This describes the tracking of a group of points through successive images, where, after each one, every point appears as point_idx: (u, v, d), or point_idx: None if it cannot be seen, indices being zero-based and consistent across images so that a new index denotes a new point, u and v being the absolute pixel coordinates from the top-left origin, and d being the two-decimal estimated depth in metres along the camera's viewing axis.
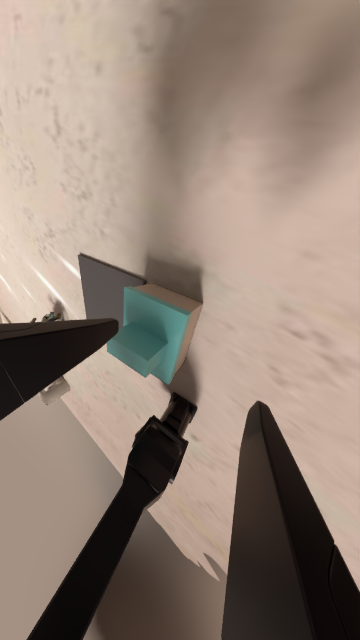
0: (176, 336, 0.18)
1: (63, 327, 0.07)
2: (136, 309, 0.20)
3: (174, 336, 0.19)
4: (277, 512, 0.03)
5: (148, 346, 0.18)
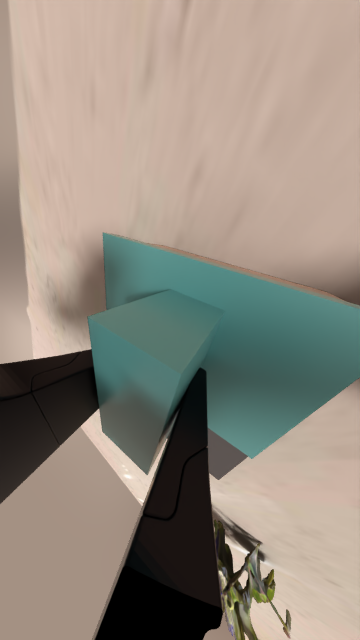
0: (148, 261, 0.07)
1: None
2: None
3: (149, 266, 0.08)
4: (172, 429, 0.04)
5: None
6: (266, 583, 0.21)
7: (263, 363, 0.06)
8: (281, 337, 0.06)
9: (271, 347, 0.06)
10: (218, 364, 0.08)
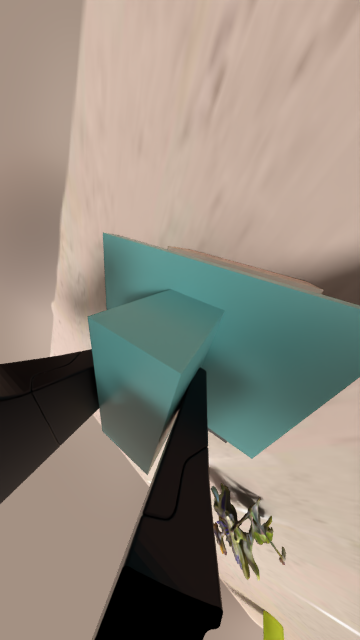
0: (148, 261, 0.07)
1: None
2: None
3: (149, 266, 0.08)
4: (172, 429, 0.04)
5: None
6: (265, 526, 0.26)
7: (263, 362, 0.06)
8: (281, 337, 0.06)
9: (271, 347, 0.06)
10: (219, 363, 0.08)
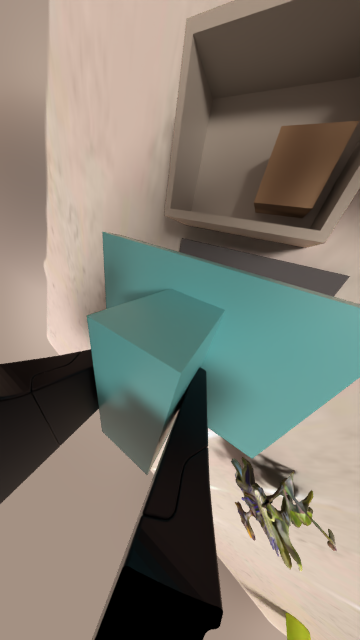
0: (148, 260, 0.07)
1: None
2: None
3: (148, 265, 0.07)
4: (172, 429, 0.04)
5: None
6: (305, 503, 0.20)
7: (263, 362, 0.06)
8: (281, 336, 0.06)
9: (271, 346, 0.06)
10: (219, 363, 0.08)
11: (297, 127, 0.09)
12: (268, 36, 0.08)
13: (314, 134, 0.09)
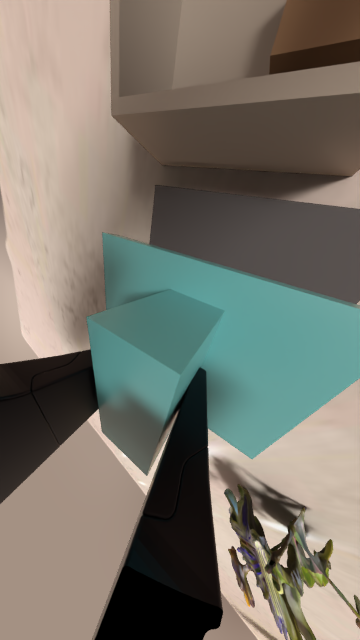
0: (147, 261, 0.07)
1: None
2: None
3: (148, 266, 0.07)
4: (172, 429, 0.04)
5: None
6: (323, 558, 0.15)
7: (263, 363, 0.06)
8: (281, 337, 0.06)
9: (271, 347, 0.06)
10: (218, 364, 0.08)
11: None
12: None
13: None
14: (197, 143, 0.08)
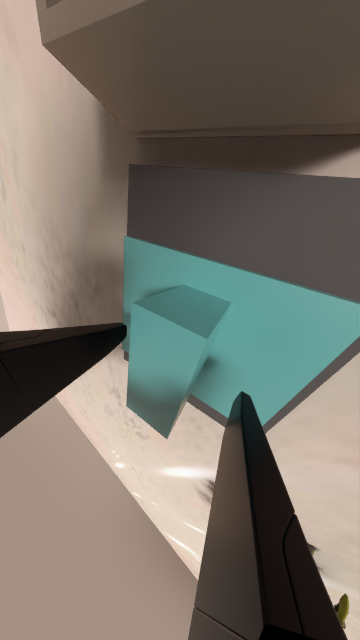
0: (165, 261, 0.09)
1: (73, 334, 0.06)
2: None
3: (165, 265, 0.09)
4: (244, 486, 0.03)
5: None
6: None
7: (263, 346, 0.08)
8: (278, 323, 0.07)
9: (270, 332, 0.07)
10: (225, 349, 0.09)
11: None
12: None
13: None
14: (171, 90, 0.06)
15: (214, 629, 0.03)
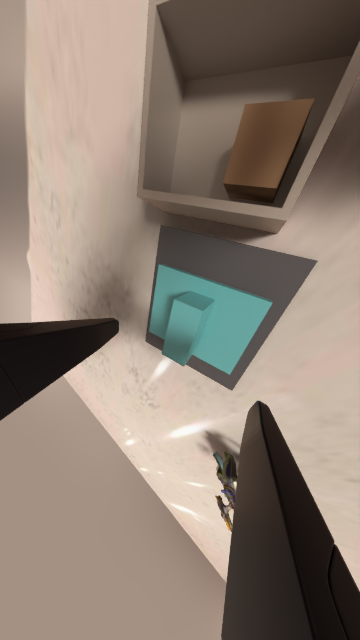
0: (181, 278, 0.17)
1: (63, 327, 0.07)
2: (164, 324, 0.20)
3: (181, 280, 0.17)
4: (277, 512, 0.03)
5: None
6: None
7: (230, 321, 0.16)
8: (236, 309, 0.15)
9: (233, 314, 0.15)
10: (213, 324, 0.17)
11: (259, 105, 0.09)
12: (228, 12, 0.08)
13: (275, 112, 0.09)
14: (188, 211, 0.14)
15: None
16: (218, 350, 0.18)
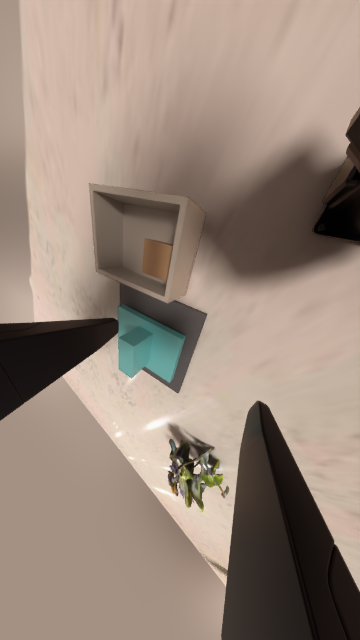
0: (132, 317, 0.24)
1: (63, 327, 0.07)
2: None
3: (132, 318, 0.24)
4: (277, 512, 0.03)
5: None
6: (212, 468, 0.28)
7: (163, 347, 0.23)
8: (165, 341, 0.23)
9: (164, 343, 0.23)
10: (154, 349, 0.24)
11: (151, 241, 0.16)
12: (129, 198, 0.16)
13: (158, 246, 0.16)
14: None
15: None
16: (160, 366, 0.25)
